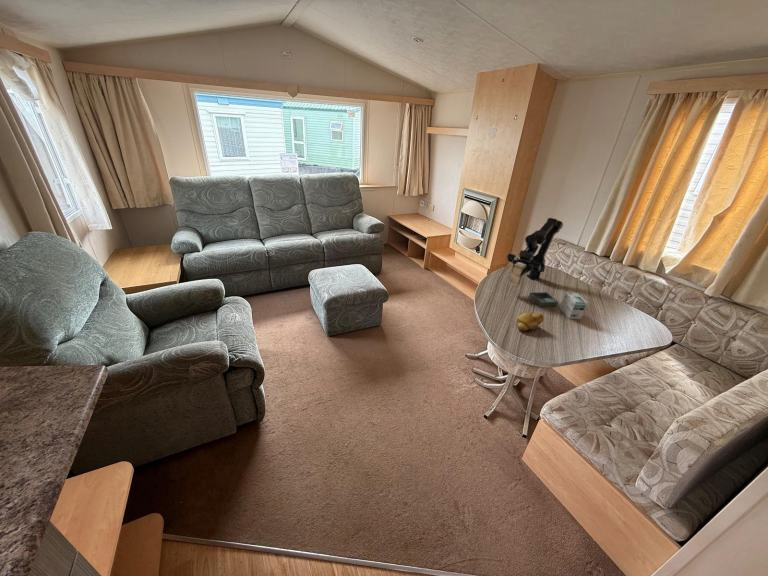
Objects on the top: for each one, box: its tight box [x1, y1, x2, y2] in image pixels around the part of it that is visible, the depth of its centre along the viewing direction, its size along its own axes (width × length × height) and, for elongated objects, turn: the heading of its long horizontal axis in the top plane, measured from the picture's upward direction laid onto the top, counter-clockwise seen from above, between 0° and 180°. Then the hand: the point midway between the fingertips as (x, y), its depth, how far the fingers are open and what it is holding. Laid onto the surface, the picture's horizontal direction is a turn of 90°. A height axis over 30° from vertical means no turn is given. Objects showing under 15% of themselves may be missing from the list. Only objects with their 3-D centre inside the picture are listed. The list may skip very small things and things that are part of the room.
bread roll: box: [516, 312, 544, 332], centre depth 153 cm, size 13×10×8 cm
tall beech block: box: [508, 262, 526, 287], centre depth 178 cm, size 4×4×12 cm
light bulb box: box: [559, 291, 589, 320], centre depth 166 cm, size 11×7×11 cm, turn 179°
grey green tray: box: [528, 291, 559, 308], centre depth 178 cm, size 11×11×3 cm
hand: (516, 274), depth 177 cm, fingers closed on tall beech block, 4 cm apart
